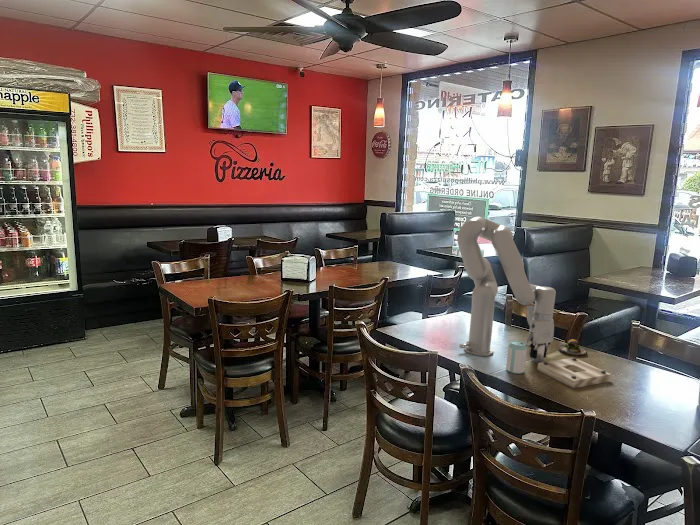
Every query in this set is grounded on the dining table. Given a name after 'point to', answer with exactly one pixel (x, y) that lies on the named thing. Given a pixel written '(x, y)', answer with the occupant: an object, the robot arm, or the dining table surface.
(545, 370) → the plate
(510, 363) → the can
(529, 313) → the chalice
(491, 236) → the robot arm
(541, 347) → the bushing
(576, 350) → the burger
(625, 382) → the dining table surface
